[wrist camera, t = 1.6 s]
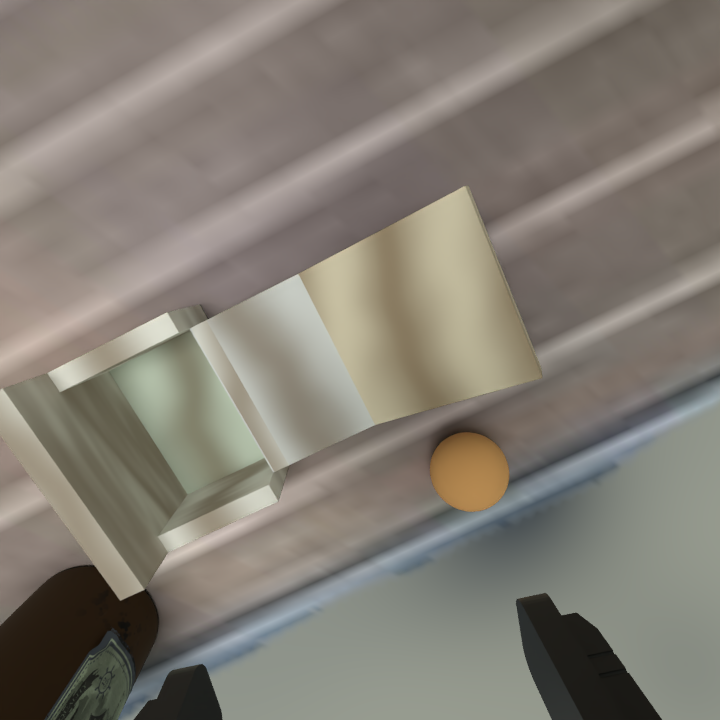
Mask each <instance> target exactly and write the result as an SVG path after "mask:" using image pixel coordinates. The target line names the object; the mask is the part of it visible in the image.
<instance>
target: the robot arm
mask: <svg viewBox="0 0 720 720" xmlns="http://www.w3.org/2000/svg"><path fill="white" fill-rule="evenodd" d="M516 606H517V612H518V618H519V625H520V631H521V637H522V644H523V649H524V653H525V657H526V661H527V664H528V666H529V670H530V672H531V675H532V677H533V680H534V682H535V684H536V686H537V688H538V690H539V693H540V695H541V697H542V699H543V701H544V703H545V706H546V708H547V710H548V712H549V714H550V716H551V718H552V720H662V719H661V718H660V716H659V715H658V713H657V712H656V711H655V709H654V708H653V706H652V705H651V704H650V702H649V701H648V699H647V698H646V696H645V695H644V694H643V692H642V691H641V690H640V688H639V687H638V685H637V684H636V682H635V681H634V679H633V678H632V677H631V675H630V674H629V673H627V671H626V669H625V667H624V665H623V664H622V663H621V661H620V660H619V658H618V657H617V655H615V654H614V653H613V650H612V648H611V647H610V646H609V644H608V643H607V641H606V640H605V639H604V637H603V636H602V634H601V633H600V632H599V630H598V629H597V628H596V627H595V626H593V625H592V624H591V623H589V622H588V621H587V620H585V619H584V618H583V617H582V616H580V615H579V614H578V613H572V614H567V615H562V616H561V614H560V613H559V611H558V610H557V608H556V606H555V605H554V603H553V602H552V600H551V598H550V597H549V596H548V595H547V594H546V593H543V594H539V595H534V596H529V597H524V598H520V599H517V600H516ZM134 720H222V713H221V709H220V706H219V703H218V700H217V697H216V694H215V692H214V689H213V686H212V683H211V680H210V677H209V675H208V672H207V669H206V667H205V666H204V665H203V664H200V665H195V666H190V667H185V668H180V669H176V670H172V671H171V672H170V673H169V674H168V676H167V678H166V680H165V682H164V684H163V686H162V689H161V691H160V693H159V695H158V698H157V699H155V700H150V701H148V702H147V703H146V705H145V706H144V707H143V709H142V710H141V711H140V712H139V714H138V715H137V716H136V717H135V719H134Z"/></svg>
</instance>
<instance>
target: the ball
mask: <svg viewBox="0 0 720 720" xmlns="http://www.w3.org/2000/svg"><path fill="white" fill-rule="evenodd" d="M430 476H431V480H432V483H433V486H434V488H435V490H436V492H437V493H438V494H439V496H440V497H441V498H442V499H443V500H444V501H445V502H446V503H448V504H449V505H451V506H452V507H454V508H457V509H459V510H463V511H469V512H475V511H481V510H485V509H487V508H489V507H491V506H493V505H494V504H496V503H497V502H498V501H499V500H500V499H501V497H502V496H503V495H504V493H505V491H506V489H507V486H508V481H509V467H508V463H507V460H506V458H505V456H504V454H503V452H502V451H501V449H500V448H499V447H498V446H497V445H496V444H495V443H494V442H493V441H492V440H490V439H489V438H487V437H485V436H483V435H480V434H477V433H471V432H463V433H458V434H454V435H452V436H450V437H448V438H446V439H445V440H443V441H442V442H441V443H440V444H439V445H438V447H437V448H436V450H435V451H434V453H433V456H432V459H431V463H430Z"/></svg>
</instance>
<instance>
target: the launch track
mask: <svg viewBox="0 0 720 720" xmlns="http://www.w3.org/2000/svg"><path fill="white" fill-rule="evenodd" d="M541 378H542V369H541V366H540V364H539V361H538V359H537V356H536V354H535V351H534V349H533V346H532V344H531V341H530V339H529V336H528V334H527V331H526V329H525V326H524V324H523V321H522V319H521V316H520V314H519V311H518V309H517V306H516V304H515V301H514V299H513V296H512V294H511V291H510V289H509V286H508V284H507V281H506V279H505V276H504V274H503V271H502V269H501V266H500V264H499V261H498V259H497V256H496V254H495V251H494V249H493V246H492V244H491V241H490V239H489V236H488V234H487V231H486V229H485V226H484V224H483V221H482V219H481V216H480V214H479V211H478V209H477V206H476V204H475V201H474V199H473V196H472V194H471V191H470V189H469V186H464V187H462V188H460V189H458V190H456V191H455V192H453V193H451V194H449V195H447V196H445V197H443V198H441V199H439V200H438V201H436V202H434V203H432V204H430V205H428V206H426V207H424V208H422V209H420V210H419V211H417V212H415V213H413V214H411V215H409V216H407V217H405V218H403V219H401V220H400V221H398V222H396V223H394V224H392V225H390V226H388V227H386V228H384V229H383V230H381V231H379V232H377V233H375V234H373V235H371V236H369V237H367V238H365V239H364V240H362V241H360V242H358V243H356V244H354V245H352V246H350V247H348V248H346V249H345V250H343V251H341V252H339V253H337V254H335V255H333V256H331V257H329V258H328V259H326V260H324V261H322V262H320V263H318V264H316V265H314V266H312V267H310V268H309V269H307V270H305V271H303V272H301V273H299V274H297V275H295V276H293V277H291V278H289V279H287V280H285V281H283V282H281V283H279V284H277V285H275V286H273V287H271V288H269V289H267V290H265V291H263V292H261V293H259V294H257V295H255V296H253V297H251V298H249V299H247V300H245V301H243V302H241V303H239V304H237V305H235V306H233V307H231V308H229V309H227V310H225V311H223V312H221V313H219V314H217V315H216V316H214V317H212V318H210V319H208V318H207V317H206V315H205V313H204V311H203V309H202V308H201V306H200V305H196V306H192V307H188V308H183V309H179V310H175V311H171V312H167V313H165V314H163V315H161V316H159V317H157V318H155V319H153V320H151V321H149V322H147V323H145V324H143V325H141V326H139V327H137V328H135V329H133V330H131V331H129V332H127V333H125V334H124V335H122V336H120V337H118V338H116V339H114V340H112V341H110V342H108V343H106V344H104V345H102V346H100V347H98V348H96V349H94V350H92V351H90V352H88V353H86V354H84V355H82V356H80V357H78V358H76V359H74V360H72V361H70V362H68V363H66V364H64V365H62V366H60V367H58V368H57V369H55V370H53V371H51V372H49V373H46V374H44V375H41V376H38V377H35V378H32V379H29V380H26V381H23V382H20V383H18V384H15V385H12V386H9V387H6V388H3V389H1V390H0V436H1V437H2V439H3V440H4V441H5V443H6V444H7V446H8V447H9V448H10V450H11V451H12V452H13V454H14V455H15V457H16V458H17V459H18V461H19V462H20V463H21V465H22V466H23V468H24V469H25V470H26V472H27V473H28V474H29V476H30V477H31V479H32V480H33V481H34V483H35V484H36V485H37V487H38V488H39V490H40V491H41V492H42V494H43V495H44V496H45V498H46V499H47V501H48V502H49V503H50V505H51V506H52V507H53V509H54V510H55V512H56V513H57V514H58V516H59V517H60V518H61V520H62V521H63V523H64V524H65V525H66V527H67V528H68V529H69V531H70V532H71V534H72V535H73V536H74V538H75V539H76V540H77V542H78V543H79V545H80V546H81V547H82V549H83V550H84V551H85V553H86V554H87V556H88V557H89V558H90V560H91V561H92V562H93V564H94V565H95V567H96V568H97V569H98V571H99V572H100V573H101V575H102V576H103V578H104V579H105V580H106V582H107V583H108V584H109V586H110V587H111V589H112V590H113V591H114V593H115V594H116V595H117V597H118V598H119V600H120V601H121V600H123V599H125V598H127V597H129V596H132V595H134V594H136V593H138V592H140V591H143V590H145V588H146V587H147V585H148V583H149V582H150V580H151V579H152V577H153V575H154V574H155V572H156V571H157V569H158V568H159V566H160V564H161V563H162V561H163V560H164V558H165V557H166V555H167V553H168V552H170V551H172V550H174V549H177V548H179V547H181V546H183V545H185V544H187V543H190V542H192V541H194V540H196V539H198V538H200V537H203V536H205V535H207V534H209V533H211V532H213V531H215V530H218V529H220V528H222V527H224V526H226V525H228V524H231V523H233V522H235V521H237V520H239V519H241V518H244V517H246V516H248V515H250V514H252V513H254V512H257V511H259V510H261V509H263V508H265V507H267V506H270V505H272V504H274V503H276V502H278V501H279V498H280V495H281V491H282V488H283V485H284V481H285V478H286V475H287V471H288V468H289V465H290V464H293V463H295V462H297V461H299V460H301V459H303V458H305V457H308V456H310V455H312V454H314V453H316V452H318V451H320V450H323V449H325V448H327V447H329V446H331V445H333V444H335V443H337V442H340V441H342V440H344V439H346V438H348V437H350V436H352V435H355V434H357V433H359V432H361V431H363V430H365V429H367V428H370V427H372V426H374V425H377V424H380V423H384V422H387V421H391V420H394V419H398V418H402V417H405V416H409V415H412V414H416V413H419V412H423V411H426V410H430V409H434V408H437V407H441V406H444V405H448V404H451V403H455V402H459V401H462V400H466V399H469V398H473V397H476V396H480V395H484V394H487V393H491V392H494V391H498V390H501V389H505V388H509V387H512V386H516V385H519V384H523V383H526V382H530V381H533V380H537V379H541Z"/></svg>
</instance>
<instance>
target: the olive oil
mask: <svg viewBox="0 0 720 720" xmlns="http://www.w3.org/2000/svg"><path fill="white" fill-rule="evenodd" d="M157 631H158V617H157V612H156V609H155V606H154V604H153V602H152V600H151V599H150V597H149V596H148V594H147V593H146V592H145V591H144V590H143V591H140V592H138V593H136V594H134V595H132V596H129V597H127V598H125V599H123V600H121V601H120V600H119V598H118V597H117V595H116V594H115V593H114V591H113V590H112V589H111V587H110V586H109V584H108V583H107V582H106V580H105V579H104V578H103V576H102V575H101V573H100V572H99V571H98V569H97V568H96V567H77V568H72V569H68V570H65V571H62V572H60V573H58V574H56V575H54V576H53V577H51V578H50V579H49V580H47V581H46V582H45V583H44V584H43V585H42V586H41V587H39V588H38V589H37V590H36V591H35V592H34V593H33V594H32V595H31V596H30V597H29V598H28V599H27V600H26V601H25V602H24V603H23V604H22V605H21V606H20V607H19V608H18V609H17V610H16V611H15V612H14V613H13V614H12V615H11V616H10V617H9V618H8V619H7V620H6V621H5V622H4V623H3V624H2V625H1V626H0V720H118V717H119V715H120V713H121V711H122V709H123V707H124V705H125V703H126V701H127V699H128V696H129V694H130V692H131V690H132V688H133V685H134V683H135V681H136V679H137V677H138V675H139V673H140V671H141V669H142V667H143V665H144V663H145V661H146V659H147V657H148V654H149V652H150V650H151V648H152V646H153V644H154V641H155V639H156V635H157Z"/></svg>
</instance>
